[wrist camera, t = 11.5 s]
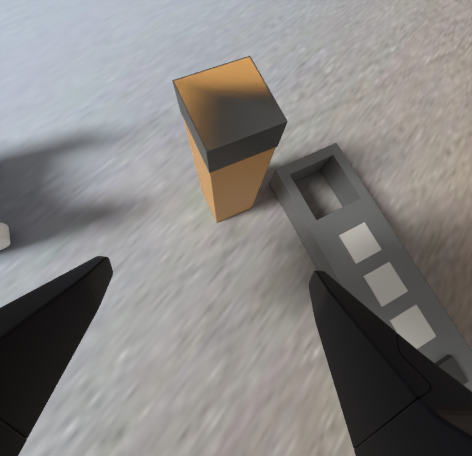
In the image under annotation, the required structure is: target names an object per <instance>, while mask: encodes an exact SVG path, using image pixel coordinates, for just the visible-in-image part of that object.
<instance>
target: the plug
mask: <svg viewBox="0 0 472 456" xmlns="http://www.w3.org/2000/svg"><path fill="white" fill-rule="evenodd" d="M172 81H173V85H174V88H175V92H176V96H177V100H178V103H179V107H180V111H181V114H182V116H183V119H184V122H185V126H186V130H187V134H188V138H189V142H190V146H191V150H192V154H193V157H194V161H195V165H196V169H197V173H198V177H199V181H200V185H201V189H202V191H203V193H204V196H205V198H206V200H207V202H208V204H209V207H210V209H211V211H212V213H213V215H214V218H215V220H216V222H217V223H218V222H220V221H222V220H225V219H227V218H229V217H232V216H234V215H236V214H239V213H241V212H243V211H246V210H248V209H250V208H252V206H253V203H254V201H255V198H256V196H257V193H258V191H259V188H260V186H261V183H262V181H263V178H264V176H265V173H266V170H267V168H268V165H269V163H270V160H271V158H272V155H273V153H274V150H275V148H276V147H277V146H278V144H279V141H280V139H281V136H282V134H283V131H284V129H285V126H286V124H287V122H288V121H287V119H286V118H285V116H284V114H283V113H282V111H281V109H280V107H279V106H278V104H277V102H276V100H275V99H274V97H273V95H272V93H271V92H270V90H269V88H268V86H267V85H266V83H265V81H264V79H263V78H262V76H261V74H260V73H259V71H258V69H257V67H256V66H255V64H254V62H253V60H252V59H251V57H250V56H248V57H245V58H242V59H239V60H235V61H232V62H229V63H226V64H223V65H220V66H216V67H213V68H210V69H207V70H204V71H201V72H198V73H194V74H191V75H188V76H185V77H182V78H179V79H175V80H172Z"/></svg>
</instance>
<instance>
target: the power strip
mask: <svg viewBox="0 0 472 456" xmlns="http://www.w3.org/2000/svg"><path fill="white" fill-rule="evenodd" d="M318 170H321V172H322V174H323V175H324V177H325V178H326V180H327V182H328V183H329V185H330V187H331V188H332V190H333V191H334V193H335V195H336V196H337V198H338V199H339V201H340V203H341V204H342V206H343V207H342V208H340V209H338V210H336V211H334V212H332V213H330V214H328V215H326V216H324V217H322V218H320V219H318V220H316V219H315V217H314V215H313V213H312V212H311V210H310V208H309V207H308V205H307V203H306V202H305V200H304V198H303V196H302V195H301V193H300V191H299V190H298V188H297V186H296V184H295V183H294V181H296V180H299V179H301V178H303V177H305V176H307V175H309V174H312V173H314V172H316V171H318ZM269 184H270V186H271V187H272V189H273V191H274V193H275V195H276V196H277V198H278V200H279V202H280V203H281V205H282V207H283V209H284V211H285V212H286V214H287V216H288V218H289V219H290V221H291V223H292V225H293V227H294V228H295V230H296V232H297V234H298V235H299V237H300V239H301V241H302V243H303V244H304V246H305V248H306V250H307V252H308V253H309V255H310V257H311V259H312V260H313V262H314V264H315V266H316V268H317V269H318V270H320V271H325V272H326V273H327V274H328V275H330V276H331V277H332V278H333V279H334V280H336V281H337V282H338V283H339V284H340V285H341V286H343V287H344V288H345V289H346V290H347V291H349V292H350V293H351V294H352V295H353V296H354V297H356V298H357V299H358V300H359V301H360V302H362V303H363V304H364V305H365V306H366V307H367V308H369V309H370V310H371V311H372V312H373V313H374V314H376V315H377V316H378V317H379V318H380V319H382V320H383V321H384V322H385V323H386V324H387V325H389V326H390V327H391V328H392V329H393V330H395V331H396V333H398V334H399V335H401V336H402V337H403V338H404V339H405V340H406V341H408V342H409V343H410V344H411V345H413V346H414V347H415V348H416V349H417V350H419V351H420V352H421V353H422V354H424V355H425V356H426V357H427V358H429V359H430V360H431V361H433V362H434V363H435V364H436V365H438V366H439V367H440V368H442V369H443V370H444V371H446V372H447V373H448V374H450V375H451V376H452V377H454V378H455V379H456V380H457V381H459V382H460V383H461V384H463V385H464V386H465V387H467V388H468V389H469V390H471V391H472V350H471V349H470V347H469V346H468V344H467V343H466V341H465V340H464V338H463V336H462V335H461V333H460V332H459V330H458V329H457V327H456V326H455V324H454V323H453V321H452V320H451V318H450V317H449V315H448V313H447V312H446V310H445V309H444V307H443V306H442V304H441V303H440V301H439V300H438V298H437V297H436V295H435V294H434V292H433V290H432V289H431V287H430V286H429V284H428V283H427V281H426V280H425V278H424V277H423V275H422V274H421V272H420V271H419V269H418V267H417V266H416V264H415V263H414V261H413V260H412V258H411V257H410V255H409V254H408V252H407V251H406V249H405V248H404V246H403V244H402V243H401V241H400V240H399V238H398V237H397V235H396V234H395V232H394V231H393V229H392V228H391V226H390V225H389V223H388V221H387V220H386V218H385V217H384V215H383V214H382V212H381V211H380V209H379V208H378V206H377V205H376V203H375V202H374V200H373V198H372V197H371V195H370V194H369V192H368V191H367V189H366V188H365V186H364V185H363V183H362V182H361V180H360V179H359V177H358V175H357V174H356V172H355V171H354V169H353V168H352V166H351V165H350V163H349V162H348V160H347V159H346V157H345V156H344V154H343V152H342V151H341V149H340V148H339V146H338V145H337V143H335V144H333V145H330V146H328V147H326V148H324V149H321V150H319V151H317V152H315V153H312V154H310V155H308V156H306V157H303V158H301V159H299V160H297V161H294V162H292V163H290V164H288V165H285V166H283V167H281V168H279V169H276V170H275V172H274V174H273V176H272V178H271V180H270V183H269Z"/></svg>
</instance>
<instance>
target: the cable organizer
mask: <svg viewBox="0 0 472 456" xmlns="http://www.w3.org/2000/svg"><path fill="white" fill-rule="evenodd" d="M10 243H11V242H10V234H9V227H8V226H7V225H6V224H4V223H0V250H2V249H4V248H6V247H8V246H9V245H10Z"/></svg>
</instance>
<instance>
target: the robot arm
mask: <svg viewBox="0 0 472 456" xmlns="http://www.w3.org/2000/svg"><path fill="white" fill-rule="evenodd" d="M112 275H113V270H112V267H111V263H110V260H109V258H108V257H104V256H97V257H95V258H93V259H91V260H89V261H87V262H85V263H84V264H82V265H80V266H78V267H76V268H74V269H72V270H70V271H69V272H67V273H65V274H63V275H61V276H59V277H57V278H55V279H54V280H52V281H50V282H48V283H46V284H44V285H42V286H40V287H39V288H37V289H35V290H33V291H31V292H29V293H27V294H25V295H24V296H22V297H20V298H18V299H16V300H14V301H12V302H10V303H9V304H7V305H5V306H3V307H1V308H0V456H18V455H19V453H20V451H21V449H22V448H23V446H24V444H25V442H26V440H27V439H26V438H28V436H29V435H30V433H31V431H32V429H33V427H34V425H35V424H36V422H37V420H38V418H39V416H40V414H41V413H42V411H43V409H44V407H45V405H46V404H47V402H48V400H49V398H50V396H51V394H52V393H53V391H54V389H55V387H56V385H57V384H58V382H59V380H60V378H61V376H62V374H63V373H64V371H65V369H66V367H67V365H68V363H69V362H70V360H71V358H72V356H73V354H74V353H75V351H76V349H77V347H78V345H79V343H80V342H81V340H82V338H83V336H84V334H85V333H86V331H87V329H88V327H89V325H90V323H91V322H92V320H93V318H94V316H95V314H96V312H97V310H98V309H99V306H100V304H101V302H102V299H103V297H104V295H105V292H106V290H107V287H108V285H109V283H110V280H111V278H112ZM309 290H310V296H311V301H312V307H313V312H314V317H315V322H316V325H317V329H318V332H319V335H320V338H321V342H322V345H323V348H324V352H325V355H326V358H327V362H328V365H329V368H330V372H331V375H332V378H333V381H334V385H335V388H336V391H337V395H338V398H339V401H340V405H341V408H342V411H343V415H344V418H345V421H346V424H347V428H348V431H349V434H350V438H351V441H352V444H353V447H354V451H355V455H356V456H472V391H471V390H469V389H468V388H467V387H465V386H464V385H463V384H461V383H460V382H459V381H457V380H456V379H455V378H454V377H452V376H451V375H450V374H448V373H447V372H446V371H444V370H443V369H442V368H440V367H439V366H438V365H436V364H435V363H434V362H433V361H431V360H430V359H429V358H427V357H426V356H425V355H424V354H422V353H421V352H420V351H419V350H417V349H416V348H415V347H414V346H413V345H411V344H410V343H409V342H408V341H406V340H405V339H404V338H403V337H402V336H401V335H399V334H398V333H396V331H395V330H393V329H392V328H391V327H390V326H389V325H387V324H386V323H385V322H384V321H383V320H382V319H380V318H379V317H378V316H377V315H376V314H374V313H373V312H372V311H371V310H370V309H369V308H367V307H366V306H365V305H364V304H363V303H362V302H360V301H359V300H358V299H357V298H356V297H354V296H353V295H352V294H351V293H350V292H349V291H347V290H346V289H345V288H344V287H343V286H341V285H340V284H339V283H338V282H337V281H336V280H334V279H333V278H332V277H331V276H330V275H328V274H327V273H326V272H325V271H320V270H315V271H314V272H313V275H312V277H311V280H310V283H309Z"/></svg>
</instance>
